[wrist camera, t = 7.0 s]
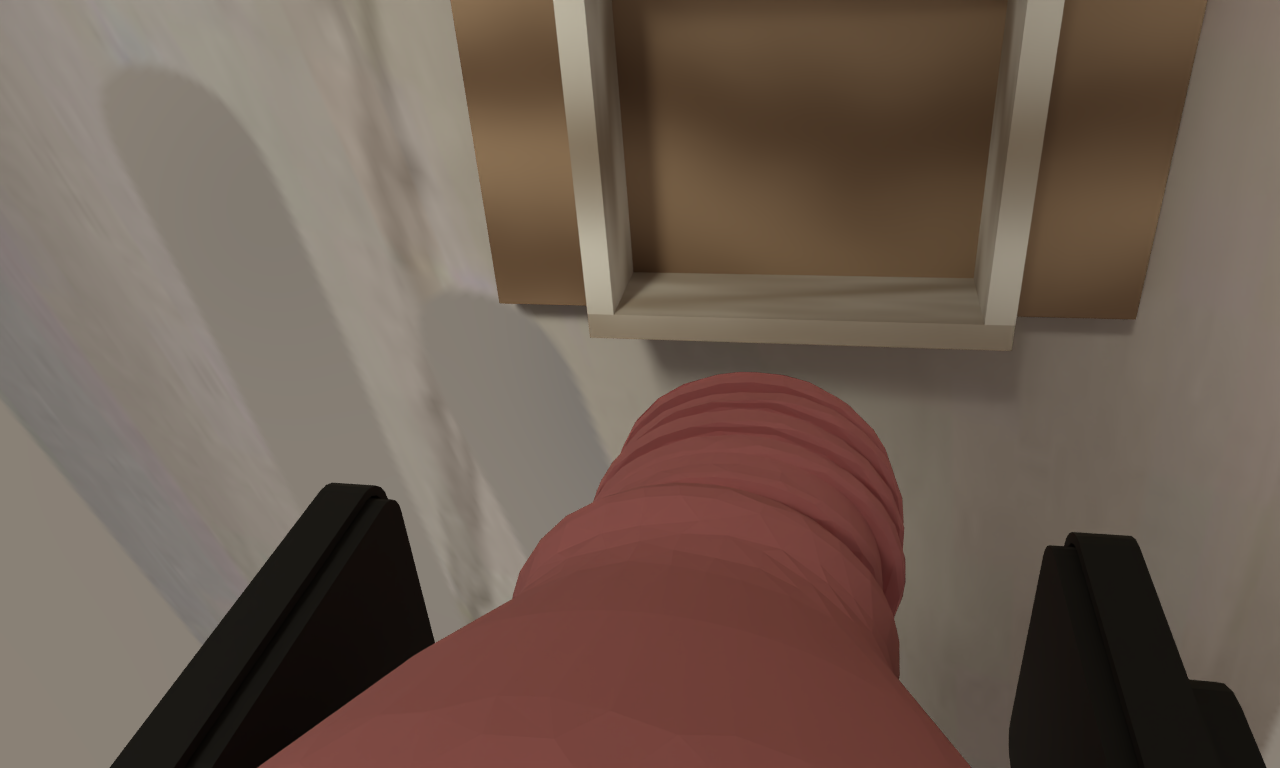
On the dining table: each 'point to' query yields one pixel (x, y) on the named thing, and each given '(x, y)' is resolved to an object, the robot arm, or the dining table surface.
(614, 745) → the light bulb
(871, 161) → the bulb holder
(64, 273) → the dining table surface
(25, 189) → the dining table surface
